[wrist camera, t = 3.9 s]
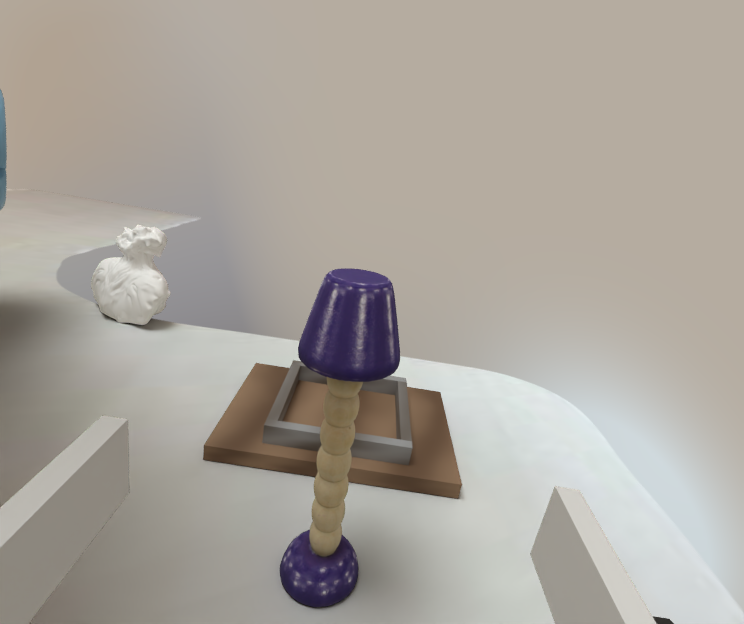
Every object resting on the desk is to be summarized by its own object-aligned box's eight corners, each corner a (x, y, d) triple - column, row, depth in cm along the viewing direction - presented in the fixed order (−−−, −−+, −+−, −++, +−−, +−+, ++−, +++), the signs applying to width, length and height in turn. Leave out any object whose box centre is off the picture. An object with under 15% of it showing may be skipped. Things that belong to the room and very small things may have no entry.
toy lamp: (254, 575, 23) (285, 270, 18) (304, 519, 28) (342, 256, 22) (332, 624, 22) (392, 302, 16) (373, 556, 26) (432, 281, 20)
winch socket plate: (203, 459, 31) (205, 426, 30) (255, 373, 43) (257, 348, 42) (457, 498, 31) (466, 467, 31) (437, 402, 44) (443, 378, 43)
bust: (166, 347, 50) (220, 264, 53) (110, 320, 44) (175, 227, 47) (107, 314, 56) (159, 240, 59) (51, 286, 49) (111, 205, 52)
